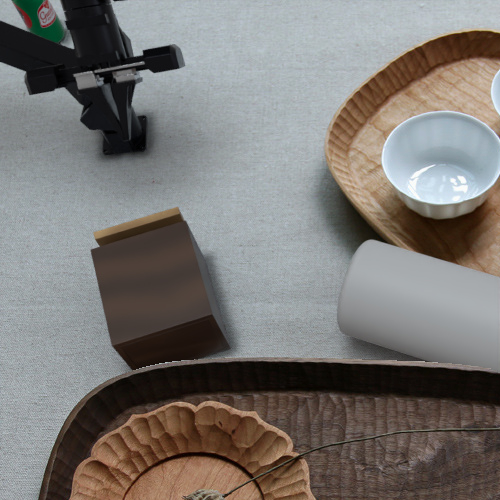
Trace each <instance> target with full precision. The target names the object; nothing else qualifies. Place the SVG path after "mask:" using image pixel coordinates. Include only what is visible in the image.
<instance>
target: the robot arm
mask: <svg viewBox="0 0 500 500" xmlns="http://www.w3.org/2000/svg"><path fill="white" fill-rule="evenodd" d="M59 1H60V6H61V8H62V11H63V15H64V18H65V20H64V24H65V28H66V31H69V34H70V38H71V40H72V44H73V48H71V47H69V46H66V45H63V44H62V43H56V42H53V41H51V40H48V39H46V38H43V37H41V36H38V35H36V34H33V33H31V32H29V30H25V29H23V28H20V27H18V26H16V25H13V24H10V23H8V22H6V21H3V20H0V63H2V64H4V65H7V66H10V67H12V68H15V69H17V70H20V71H23V72H25V74H24V84H25V87H26V91H27V92H28V95H29V96H33V95H39V94H46V93H50V92H55V90H57V89H58V90H59V89H65V90H66V91H67V92H68V93H69V94H70V95H71V96H72V97H73V98H74V99H75V101H76V102H78V104H79V105H81V106H82V109H81V114H80V117H79V122H80V123H81V124H82V125H84V126H85V128H87V129H88V130H89V131H100V132H101V133H102V154H103V155H104V156H111V155H112V156H113V155H122V154H130V153H131V154H132V153H140V152H145V151H146V150H147V149H148V122H149V121H148V117H147V115H145V114H142V115H137V112H136V111H135V109H134V106H133V99H134V95H135V89H136V87H137V86H136V85H138V84H140V83H143V82H144V79H143V76H141V72H143V71H147V70H148V71H150V72H151V73H153V74H158V73H164V72H169V71H174V70H179V69H182V68H185V67H186V63H185V59H184V55H183V51H182V49H181V47H180V46H178V45H177V44H176V43H172V44H167V45H161V46H156V47H150V48H145V49H142V54H141V55H136V56H135V55H134V50H133V45H132V41H131V40H132V39H130V37H129V36H128V35H127V34H126V33H125V31H123V29H122V27H121V26H120V24H119V21H118V18H117V16H116V13H115V11H114V8H113V3H112V1H113V2H115V3H116V2H126V1H127V0H59Z"/></svg>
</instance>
